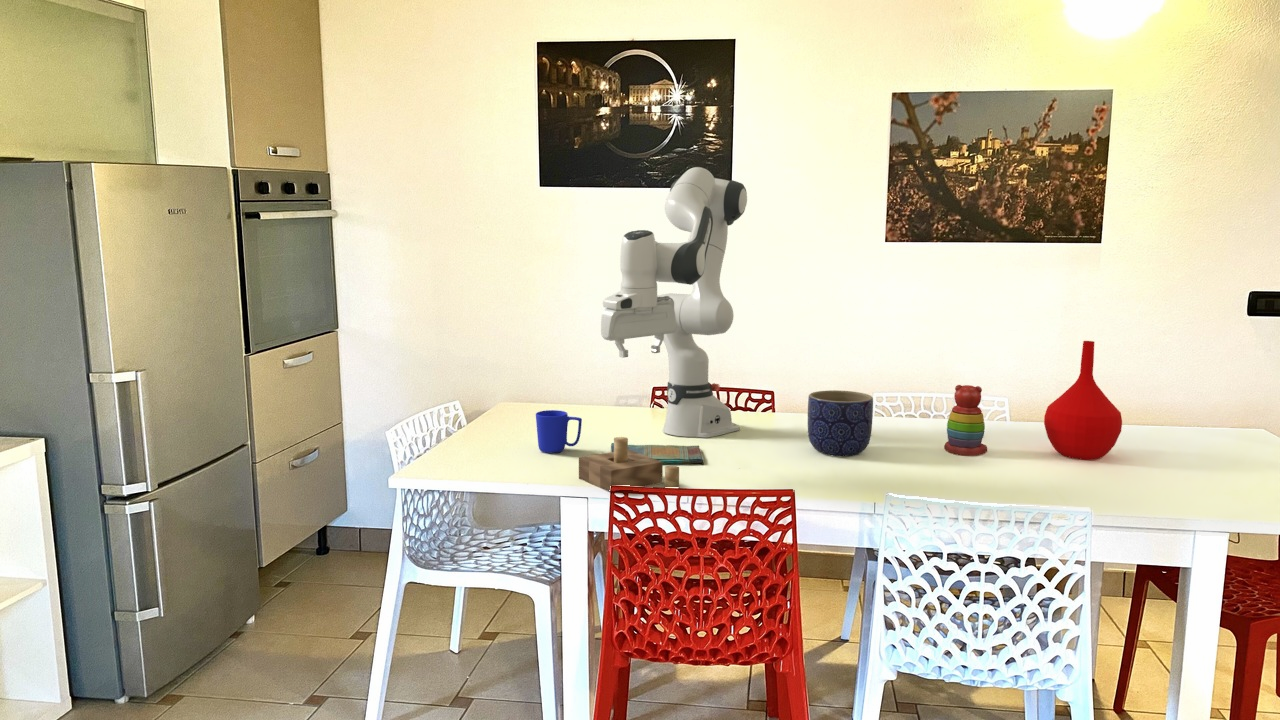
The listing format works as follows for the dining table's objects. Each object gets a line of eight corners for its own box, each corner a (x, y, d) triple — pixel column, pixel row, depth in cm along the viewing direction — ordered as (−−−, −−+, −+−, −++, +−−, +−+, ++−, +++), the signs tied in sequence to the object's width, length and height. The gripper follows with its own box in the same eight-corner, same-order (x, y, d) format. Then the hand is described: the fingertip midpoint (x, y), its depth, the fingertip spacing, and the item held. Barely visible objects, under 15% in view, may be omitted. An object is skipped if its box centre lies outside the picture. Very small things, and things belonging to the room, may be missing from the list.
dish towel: (610, 450, 256) (610, 441, 256) (698, 450, 257) (699, 441, 256) (609, 467, 239) (609, 457, 239) (704, 467, 240) (704, 457, 239)
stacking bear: (988, 449, 258) (992, 383, 255) (984, 458, 248) (988, 389, 246) (945, 445, 262) (949, 380, 259) (940, 453, 253) (944, 386, 250)
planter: (882, 451, 255) (885, 395, 252) (849, 463, 243) (851, 404, 240) (828, 441, 266) (830, 387, 263) (794, 452, 254) (795, 395, 252)
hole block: (628, 469, 235) (628, 449, 234) (662, 483, 224) (662, 461, 223) (578, 478, 227) (578, 457, 226) (611, 492, 216) (611, 470, 215)
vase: (1043, 460, 247) (1051, 344, 242) (1040, 444, 264) (1048, 335, 259) (1123, 467, 240) (1133, 348, 236) (1115, 450, 257) (1124, 339, 253)
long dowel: (622, 478, 228) (622, 436, 226) (630, 481, 225) (630, 439, 223) (611, 480, 226) (611, 438, 224) (618, 483, 223) (618, 440, 222)
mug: (577, 456, 247) (577, 418, 246) (531, 453, 250) (531, 415, 248) (585, 448, 255) (585, 411, 254) (541, 446, 258) (541, 409, 256)
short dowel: (673, 486, 221) (673, 464, 220) (681, 489, 219) (682, 468, 218) (661, 488, 219) (662, 466, 219) (670, 491, 217) (670, 470, 216)
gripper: (666, 294, 243) (666, 348, 246) (596, 300, 232) (598, 357, 235) (681, 296, 238) (681, 352, 241) (611, 303, 227) (612, 361, 229)
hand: (639, 354), depth 238 cm, fingers open, 8 cm apart
